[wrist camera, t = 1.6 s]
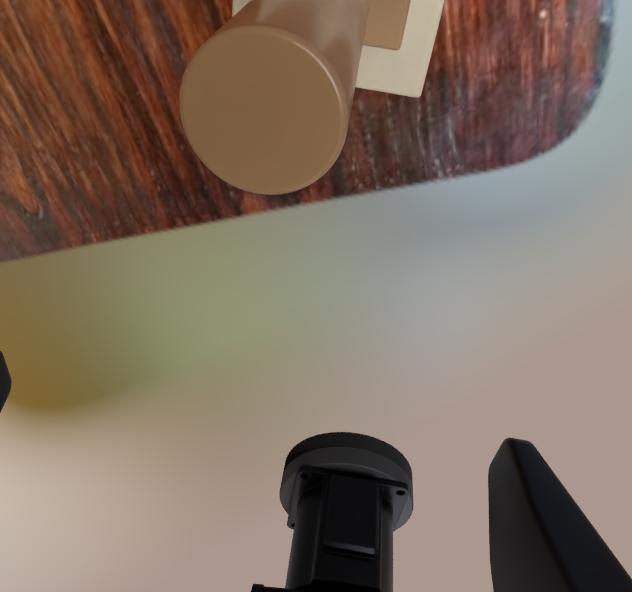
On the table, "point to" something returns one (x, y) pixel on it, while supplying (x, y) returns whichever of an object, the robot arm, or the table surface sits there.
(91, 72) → the table surface
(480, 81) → the table surface
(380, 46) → the stirring stick
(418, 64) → the stick stand
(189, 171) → the table surface
